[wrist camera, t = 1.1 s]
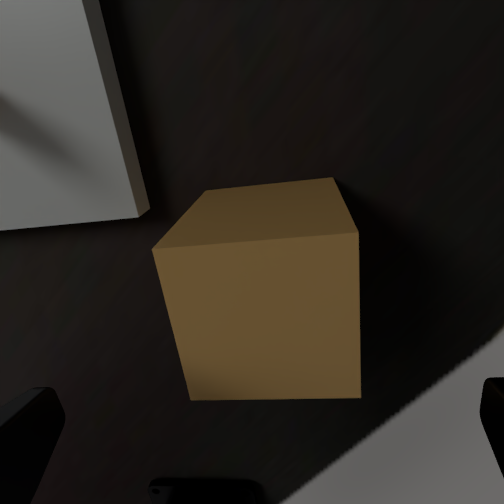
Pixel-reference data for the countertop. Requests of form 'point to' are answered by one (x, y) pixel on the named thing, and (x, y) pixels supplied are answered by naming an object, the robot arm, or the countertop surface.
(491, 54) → the countertop surface
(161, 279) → the cardboard carton
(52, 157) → the post plate
